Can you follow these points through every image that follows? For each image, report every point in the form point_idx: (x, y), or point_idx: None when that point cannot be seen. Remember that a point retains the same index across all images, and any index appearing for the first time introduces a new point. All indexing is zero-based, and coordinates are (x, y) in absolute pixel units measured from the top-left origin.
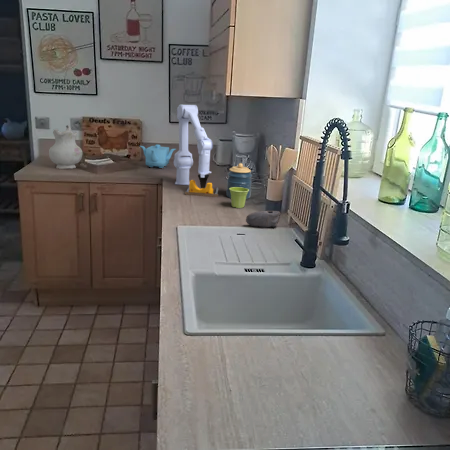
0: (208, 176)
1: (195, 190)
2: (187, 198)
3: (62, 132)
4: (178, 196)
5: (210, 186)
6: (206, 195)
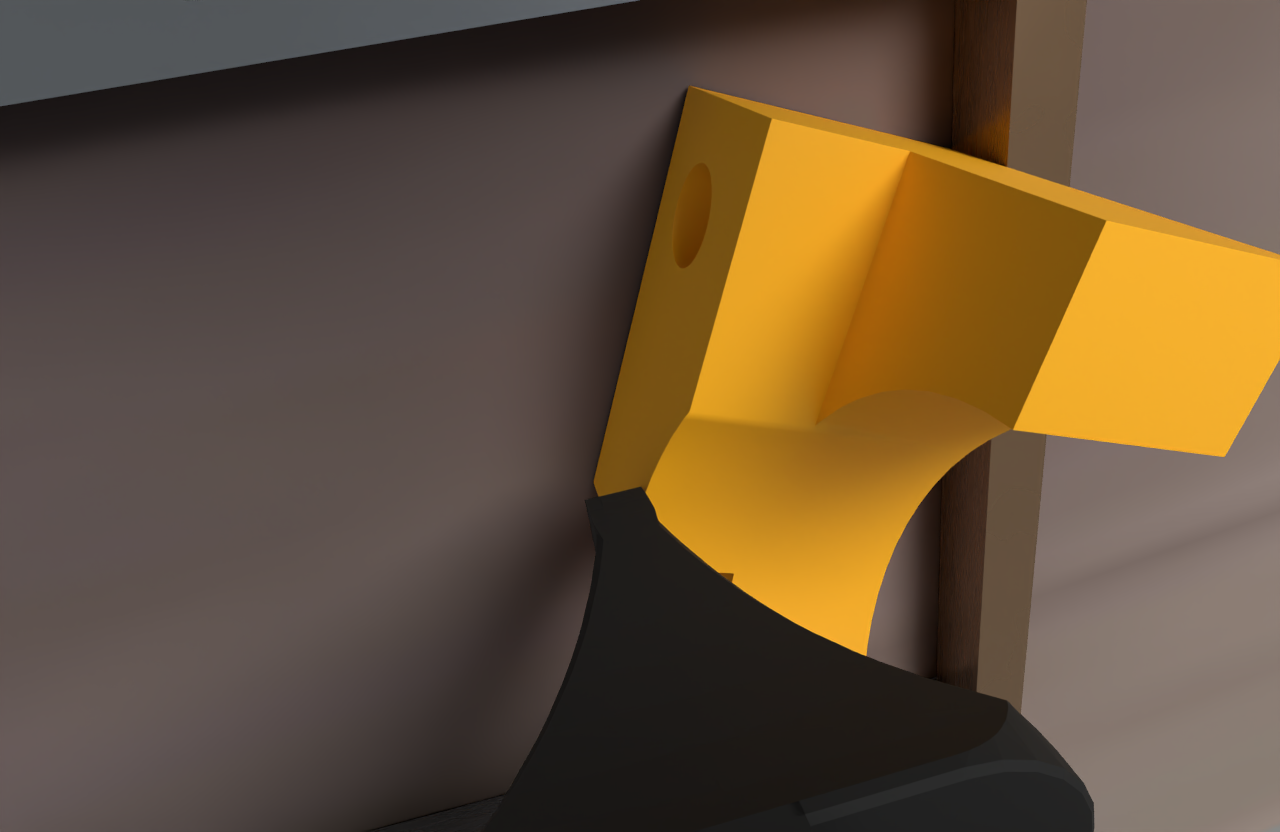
0: (1008, 768)
1: None
2: (1261, 569)
3: None
4: (1125, 753)
5: (1171, 222)
6: None
